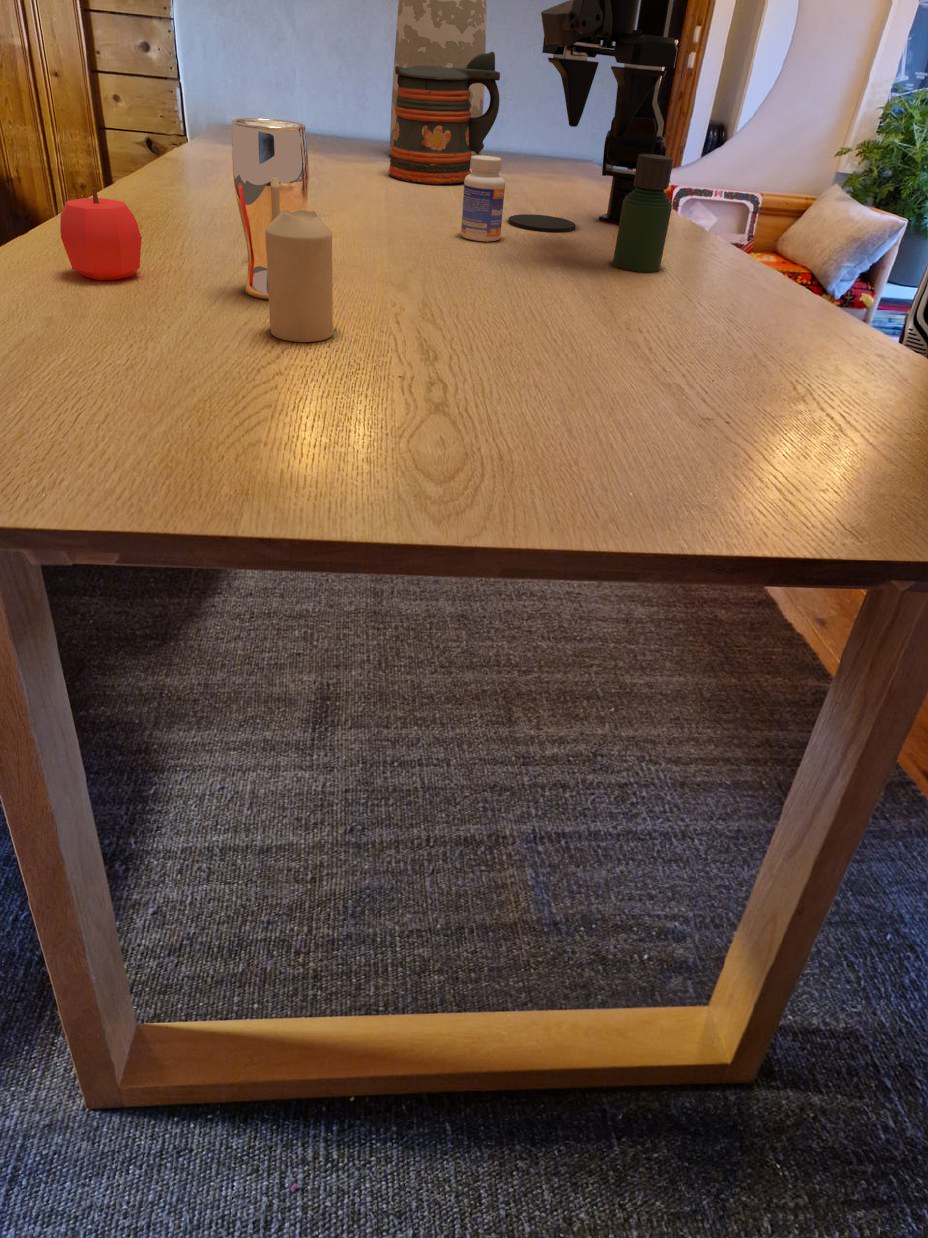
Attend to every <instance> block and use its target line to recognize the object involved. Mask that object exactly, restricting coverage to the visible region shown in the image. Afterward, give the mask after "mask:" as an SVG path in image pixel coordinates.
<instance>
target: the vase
mask: <svg viewBox="0 0 928 1238" xmlns="http://www.w3.org/2000/svg"><path fill="white" fill-rule="evenodd" d="M487 6H488V5H487V0H398V6H397V15H396V16H397V17H396V30H395V41H394V42H395V43H394V44H395V45H394V57H393V72H392V86H391V87H392V88H391V89H392V90H391V107H390V128H389V129H390V131H389V154H390V155H391V147H392V145H393V144H394V135H395V126H396V114H395V111H396V105H397V104H396V102H397V96H398V94H397V93H398V84H397V78H398V75H397V74H396V73H395V68H396V66H400V67H403V68H408V67H413V66H441V67H447V68H466V66H467V64H468V63H469V61H470V60H471V59H472V58H474V57H475V56H477V55H479V54H483V53H487V51H486V49H487V48H486V47H487V17H488V16H487V14H488V13H487V12H488V11H487ZM468 91H469V92H470V98H469V102H470V103H471V107H470V109H469V110H470V112H471V117H472V118H474V117H480V116H482V115H483V114H484V105H485V103H484V101H485V85H483V84H481V83H475V84H472V85H470V87H469V89H468ZM481 151H482V150H481ZM481 151H480V152H479V154H478V155H480V156H481V153H482V152H481ZM471 153H472V156H477V154H476V152H474V151H471ZM470 162H471V159H470Z"/></svg>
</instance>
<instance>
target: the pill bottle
mask: <svg viewBox="0 0 928 1238" xmlns="http://www.w3.org/2000/svg"><path fill="white" fill-rule="evenodd" d="M502 160H503V159H502V158H501V157H499V156H491V155H481V154H480V155H477V156H472V157H471V164H470V170H471V174H469V175H467V176H466V177H465V180H464V182H463V195H462V197H463V198H462V213H461V226H460V227H461V228H460V235H461V237H462V238H464V239H466V240H470V241H476V242H496V241H498V240H500V239H501V236H502V235H501V234H502V223H503V211H504V200H505V190H506V189H505V188H506V181H505V178H503V177H502V176H500V172H501V170H502Z"/></svg>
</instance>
